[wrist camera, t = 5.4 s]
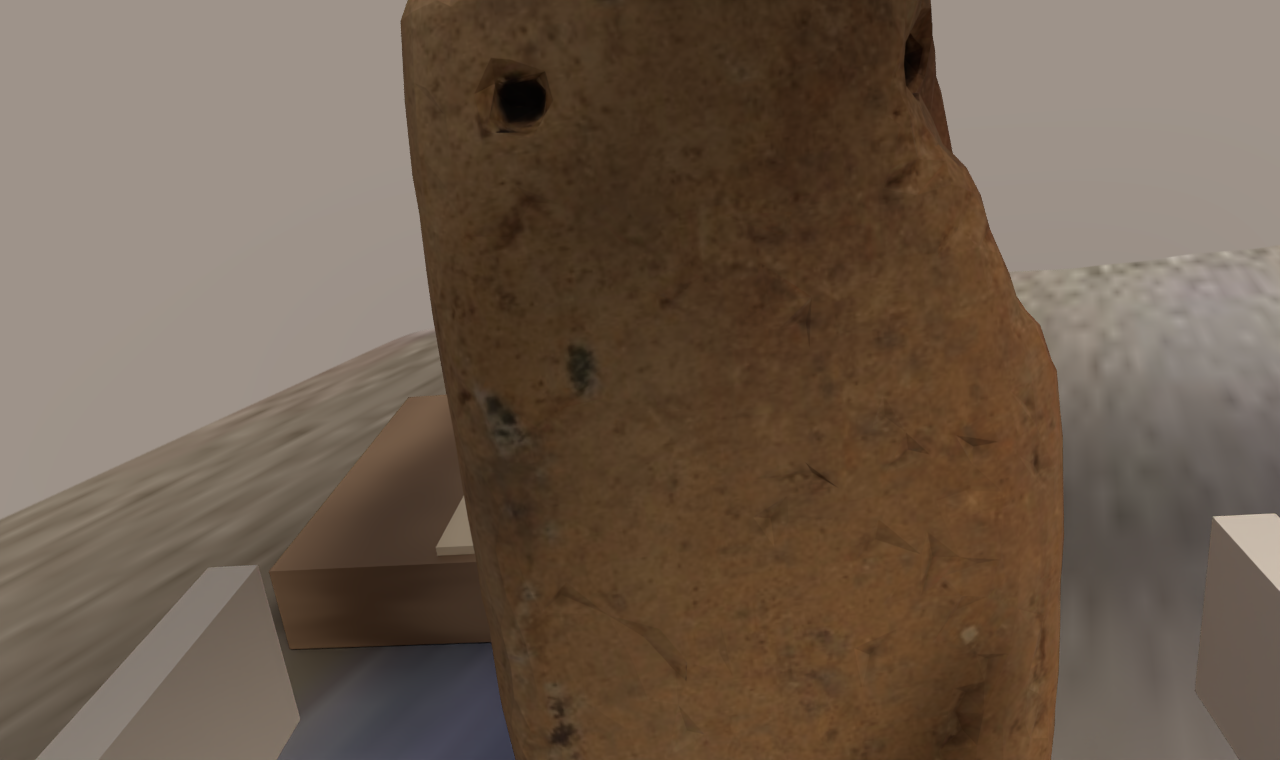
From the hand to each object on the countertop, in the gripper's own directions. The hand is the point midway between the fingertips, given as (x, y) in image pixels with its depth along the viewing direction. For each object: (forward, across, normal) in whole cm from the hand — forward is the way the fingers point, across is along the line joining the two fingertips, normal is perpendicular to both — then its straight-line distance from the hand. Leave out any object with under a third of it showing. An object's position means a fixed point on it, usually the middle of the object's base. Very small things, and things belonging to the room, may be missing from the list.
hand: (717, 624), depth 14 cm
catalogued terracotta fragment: (+6, +1, -11) cm, 13 cm away
